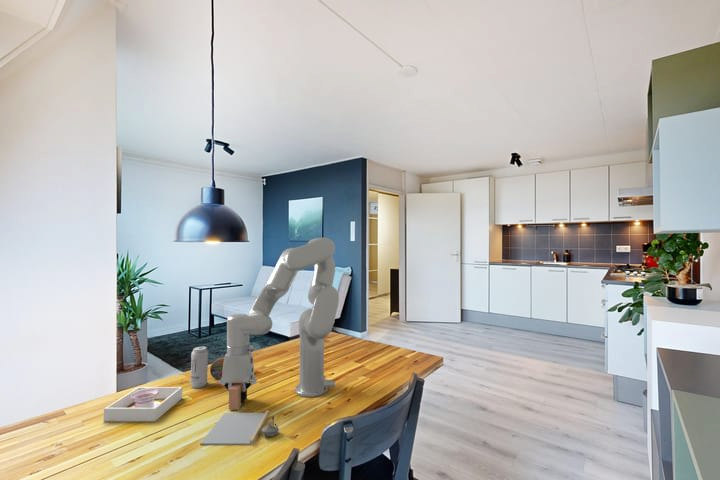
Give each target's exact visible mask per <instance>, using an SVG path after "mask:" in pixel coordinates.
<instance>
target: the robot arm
mask: <svg viewBox="0 0 720 480" xmlns="http://www.w3.org/2000/svg"><path fill="white" fill-rule="evenodd" d="M335 251H336V245H335V243H334V241H333V240H331V239H330V238H328V237H315V238H312V239H310V240H308V242H307V243H306V244H304V245H301V246H297V247H290V248H286V249H285V250H283V252H282V253H281V255H280V256H279V258H278V260H277V262H276V263H275V266H274V268H273V270H272V271H271V274H270V277H269V278H268V280H267V282H266V283H265V285H264V287H263V288H262V289H261V291H260V293H259V294H258V296H257V297H256V299H255V301H254V303H253V304H252V307H251V309H250V311H249V312H248V314H246V313H235V314H230V315H228V317H227V319H226V353H225V354H224V357H223V358H224V363H223V372H222V378H221V379H219V382H218V383H219V385H221V386H223V387H224V388H226V389H227V392H228V393H229V388H230V387H231V386H232V385H233V384H234V383H242V392H241V403H242V404H244V402H245V401H246V400H247V398H248V389H249V388H250V387H251V386H253V385H255V384H256V383H257V382H258V380H257V377H256V375H255V365H254V357H253V352H252V351H253V350H254V346H253V345H251V344H250V335H251V336H252V335H254V336H255V335H257V336H258V335H259V336H262V335H265V334H268V333H269V332H270V330H272V328H273V320H272V317H270V315H271V312H272V310H273V308H274V306H275V305H276V303H277V302H278V301H279V299H281V298H282V297H284V296H285V295H287V293H288V292H289V290H290V289H291V286H292V284H293V282H294V280H295V278H296V276H297V274H298V272H300V271H303V270H306V269H308V268H311V267H313V266H314V267H313V274H312V279H311V281H310V282H311V283H310V286H309V289H308V293H307V299H308V301H309V303H310V304H311V305H313V306H312V308H308V309H306V310H304V311H303V312H302V313H301V314H300V316H299V320H298V332H299V379H298V380H299V383H298V384H297V385H296V386H295V389H294V392H295V393H296V394H297V395H299V397H300V396H301V397H304V398H305V397H307V398H311V397H312V398H314V397H319V396H323V395H325V394H326V393H327V392H328V387H330V388H335V387H336V382H335V381H333V379H326V375H325V374H324V372H325V338H327V337H328V336H329V335H330V333H331V332H332V330H333V327H334V324H335V319H336V316H337V311H338V307H339V301H340V296H339V291H338V290H337V289H336V287H334V286H333V285H334V284H333V283H334V279H335V274H336V262H335V259H334V257H333V255H334V254H335Z"/></svg>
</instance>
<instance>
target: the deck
mask: <svg viewBox="0 0 720 480" xmlns="http://www.w3.org/2000/svg"><path fill="white" fill-rule="evenodd" d="M241 392H242V383H234V384H233V385H232V386H231V387H230V388H229V392H228V411H229V410H232V411H233V410H235V411H236V410H237V411H239V408H241V406H242V404H243V403H241Z"/></svg>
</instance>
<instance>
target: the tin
mask: <svg viewBox="0 0 720 480" xmlns="http://www.w3.org/2000/svg"><path fill="white" fill-rule="evenodd" d="M224 358H225V357H219V358H217V359H215V360H213V362H211V364H210V367H209V372H210V375H211V376H212V378H213V379H216V380H221V378H222V372H223V363H224Z"/></svg>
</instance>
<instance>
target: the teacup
mask: <svg viewBox="0 0 720 480" xmlns="http://www.w3.org/2000/svg"><path fill="white" fill-rule="evenodd" d="M157 394H158V389H155V388H146V389H141V390H138V391H135V392H134V393H132V395H131V399H132V400H134V401H133V403H134V405H132V406H130V407H129V408H155V407H156V406H157V405H159V404H160V403H161V402H162V401H155V397H156V395H157Z"/></svg>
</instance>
